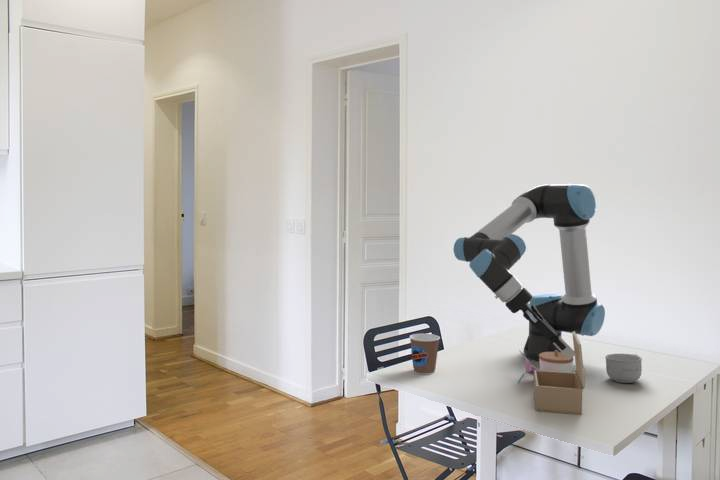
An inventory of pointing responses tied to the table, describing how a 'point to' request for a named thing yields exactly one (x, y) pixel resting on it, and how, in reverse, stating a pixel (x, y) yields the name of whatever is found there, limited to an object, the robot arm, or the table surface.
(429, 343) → the coffee cup
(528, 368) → the lily
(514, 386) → the table surface
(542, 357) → the lidded jar
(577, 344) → the lid
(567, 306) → the robot arm
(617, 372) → the teacup
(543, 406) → the mailer box
